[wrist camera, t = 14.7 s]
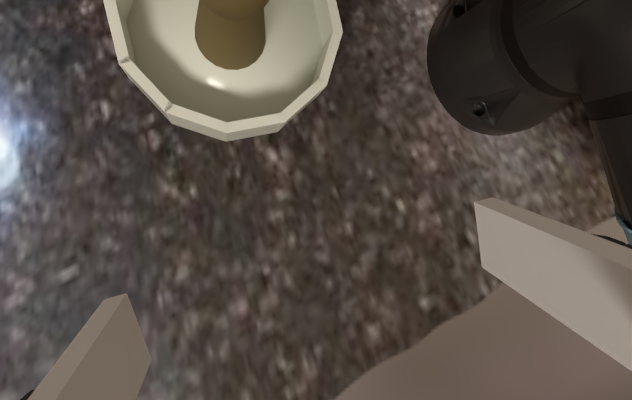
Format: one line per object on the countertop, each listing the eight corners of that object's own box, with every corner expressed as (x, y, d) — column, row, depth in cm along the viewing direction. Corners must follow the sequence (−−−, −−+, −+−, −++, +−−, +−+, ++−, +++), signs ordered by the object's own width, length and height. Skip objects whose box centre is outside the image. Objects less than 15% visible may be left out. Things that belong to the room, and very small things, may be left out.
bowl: (302, -68, 37) (313, -105, 33) (343, 119, 38) (359, 108, 34) (99, -53, 33) (80, -91, 29) (149, 156, 34) (139, 149, 30)
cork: (188, 2, 34) (172, -91, 23) (259, -3, 35) (274, -92, 25) (201, 73, 34) (192, 14, 23) (271, 66, 35) (292, 6, 25)
